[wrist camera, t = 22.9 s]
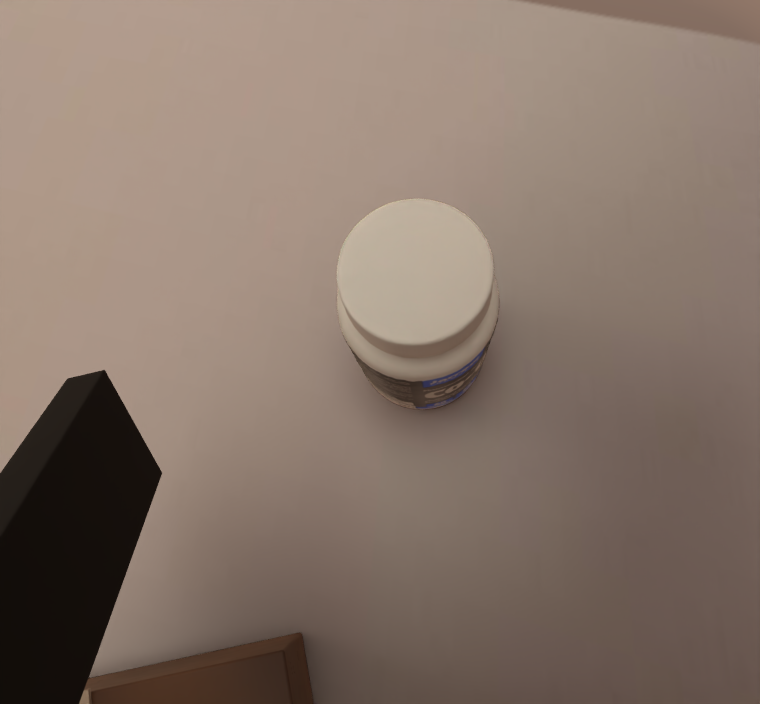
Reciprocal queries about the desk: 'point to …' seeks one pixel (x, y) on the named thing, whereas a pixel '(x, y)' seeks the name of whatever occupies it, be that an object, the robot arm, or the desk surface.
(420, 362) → the pill bottle
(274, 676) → the panel
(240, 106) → the desk surface
